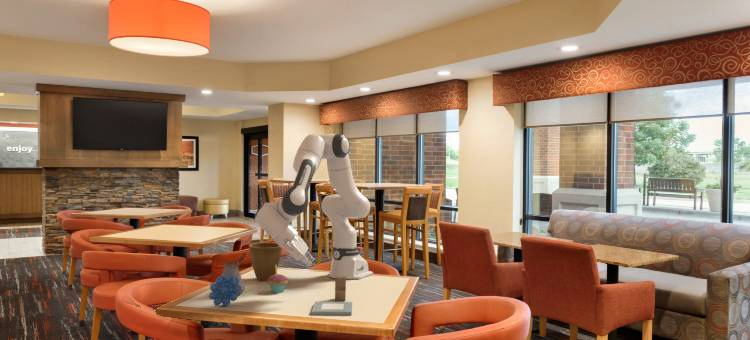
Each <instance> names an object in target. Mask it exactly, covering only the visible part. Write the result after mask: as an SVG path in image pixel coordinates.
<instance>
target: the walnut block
mask: <svg viewBox="0 0 750 340" xmlns="http://www.w3.org/2000/svg"><path fill="white" fill-rule="evenodd" d="M334 279H335V280H334V281H335V282H334V286H335V287H334V302H346V298H347V297H346V296H347V293H346V291H347V288H346V284H347V279H346V276H336V277H335V278H334Z"/></svg>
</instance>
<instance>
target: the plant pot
mask: <svg viewBox="0 0 750 340" xmlns="http://www.w3.org/2000/svg"><path fill="white" fill-rule="evenodd" d="M248 248H249V255H250V261H251V264H252V265H251V266H252V268H253V272H254V275H255V278H256V280H257V281H259V282H267V281H268V278H269V277H270V276H272V275H275V274H276V271H275V265H277V268H278V267H279V263H280V259H281V255H282V250H283V249H282V248H281V247H280V246H279V245H278V244H277V243H276V242H255V243H251V244H249V245H248Z"/></svg>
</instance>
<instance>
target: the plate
mask: <svg viewBox="0 0 750 340" xmlns="http://www.w3.org/2000/svg"><path fill="white" fill-rule="evenodd" d="M352 308H353V302H352V301H315V302H314V303H313V307H312V309H311V316H352V311H353V309H352Z"/></svg>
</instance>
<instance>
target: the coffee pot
mask: <svg viewBox="0 0 750 340" xmlns="http://www.w3.org/2000/svg"><path fill="white" fill-rule="evenodd" d="M249 255H250V253H247V251H245V252H243V254H242V256H240V258H239V259H238V261H224V262H222V265H223V268H224V269H223V271H222V273H221V275H220V276H223V277H225V276H226V275H227V274H231V275H232V276H233V278H234V277H238V278H239V283H238V284H237V285H240V286H241V291H240V292H238V293H237V295H238V297H239V296H240V295H241V294H242V293H244V291H245V289H246V285H245V282H244V281H243V280H244V279H243V278H242V275H241V273H240V270H239V265H240V263H241V262H242V261H243V260H244V258H245V257H246V256H247V257H249ZM233 278H232V279H233Z"/></svg>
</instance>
